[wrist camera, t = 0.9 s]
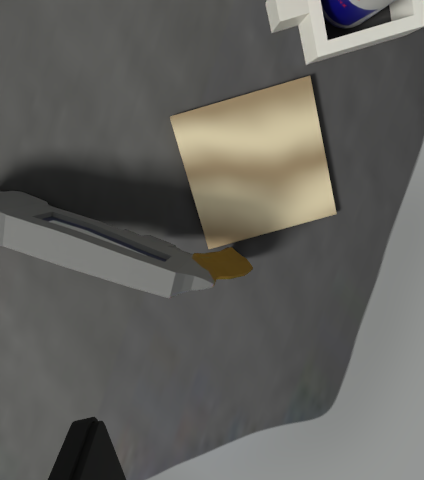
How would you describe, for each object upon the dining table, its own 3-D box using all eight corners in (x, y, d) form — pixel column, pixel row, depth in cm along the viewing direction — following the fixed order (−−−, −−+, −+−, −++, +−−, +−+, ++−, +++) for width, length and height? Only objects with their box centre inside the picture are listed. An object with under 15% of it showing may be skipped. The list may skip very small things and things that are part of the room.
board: (170, 116, 35) (169, 116, 34) (308, 76, 34) (310, 75, 34) (208, 247, 38) (208, 249, 38) (334, 212, 38) (336, 213, 37)
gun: (60, 181, 44) (-76, 186, 30) (260, 250, 37) (200, 299, 23) (56, 207, 45) (-78, 224, 31) (251, 280, 38) (188, 344, 24)
